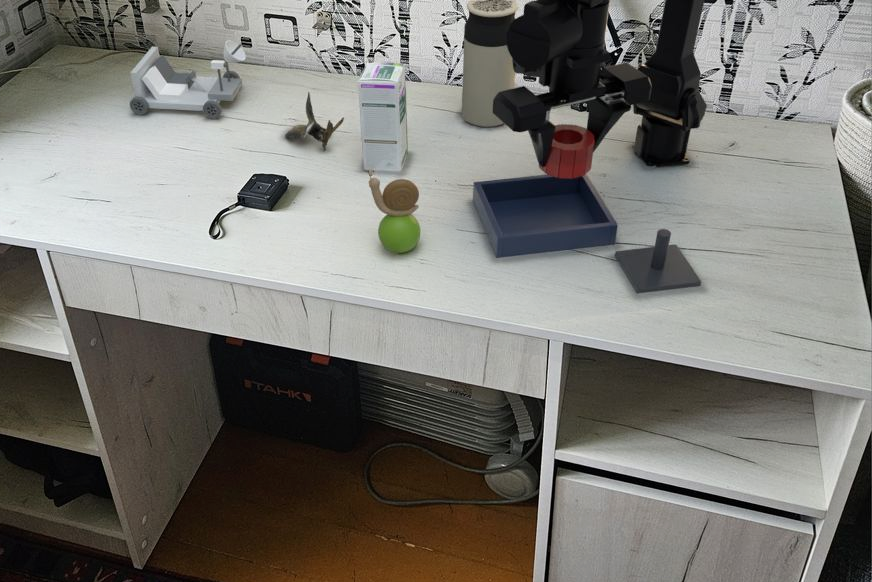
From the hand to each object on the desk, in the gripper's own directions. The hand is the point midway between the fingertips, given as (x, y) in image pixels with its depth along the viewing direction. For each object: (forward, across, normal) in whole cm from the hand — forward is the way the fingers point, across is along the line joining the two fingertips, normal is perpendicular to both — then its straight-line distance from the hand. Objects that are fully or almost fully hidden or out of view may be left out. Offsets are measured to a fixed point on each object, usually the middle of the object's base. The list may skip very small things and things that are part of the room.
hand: (565, 159), depth 117 cm
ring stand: (+11, -6, +13) cm, 18 cm away
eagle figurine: (+11, +21, -37) cm, 44 cm away
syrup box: (+11, +14, -26) cm, 31 cm away
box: (+11, +1, -2) cm, 11 cm away
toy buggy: (+11, +34, -58) cm, 68 cm away
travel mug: (+11, -7, -32) cm, 35 cm away
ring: (+1, 0, 0) cm, 1 cm away
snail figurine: (+11, +21, -5) cm, 24 cm away
